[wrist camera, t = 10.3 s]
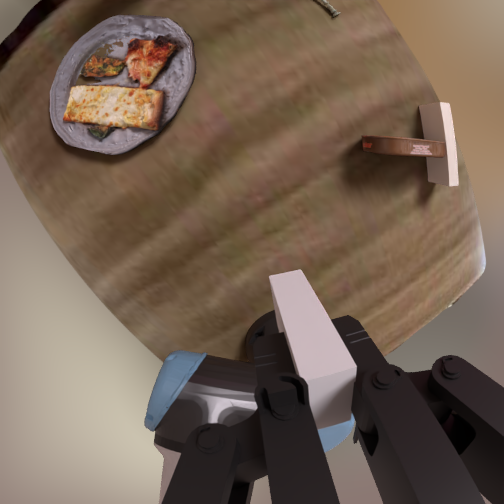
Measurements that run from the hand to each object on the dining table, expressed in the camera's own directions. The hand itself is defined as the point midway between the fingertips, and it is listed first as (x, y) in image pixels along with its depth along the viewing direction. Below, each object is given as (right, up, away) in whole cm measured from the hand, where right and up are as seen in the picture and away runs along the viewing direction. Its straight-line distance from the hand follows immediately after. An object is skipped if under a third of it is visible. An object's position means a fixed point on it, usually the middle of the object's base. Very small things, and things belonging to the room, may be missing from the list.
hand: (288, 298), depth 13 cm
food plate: (-22, +29, +19) cm, 41 cm away
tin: (+21, +20, +25) cm, 38 cm away
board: (+30, +22, +25) cm, 44 cm away
